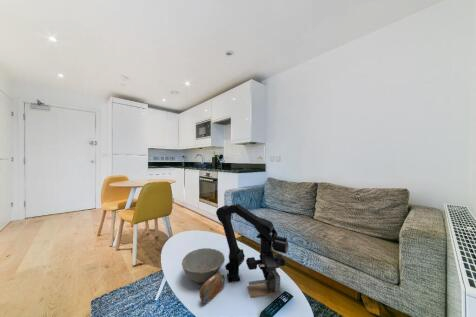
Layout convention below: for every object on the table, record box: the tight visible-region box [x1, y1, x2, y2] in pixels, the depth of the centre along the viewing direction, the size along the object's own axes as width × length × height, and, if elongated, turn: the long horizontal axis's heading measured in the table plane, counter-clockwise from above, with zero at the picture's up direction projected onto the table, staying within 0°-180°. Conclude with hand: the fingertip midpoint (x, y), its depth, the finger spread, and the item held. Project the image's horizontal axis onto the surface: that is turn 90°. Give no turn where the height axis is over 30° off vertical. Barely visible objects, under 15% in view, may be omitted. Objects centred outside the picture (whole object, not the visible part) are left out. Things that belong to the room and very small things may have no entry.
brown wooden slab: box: [199, 272, 226, 304], centre depth 88 cm, size 15×3×8 cm, turn 144°
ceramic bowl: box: [181, 247, 226, 284], centre depth 101 cm, size 22×23×10 cm
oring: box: [264, 272, 275, 292], centre depth 92 cm, size 6×2×6 cm, turn 12°
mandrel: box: [246, 270, 281, 299], centre depth 92 cm, size 7×15×8 cm, turn 102°
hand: (265, 278), depth 92 cm, fingers closed
